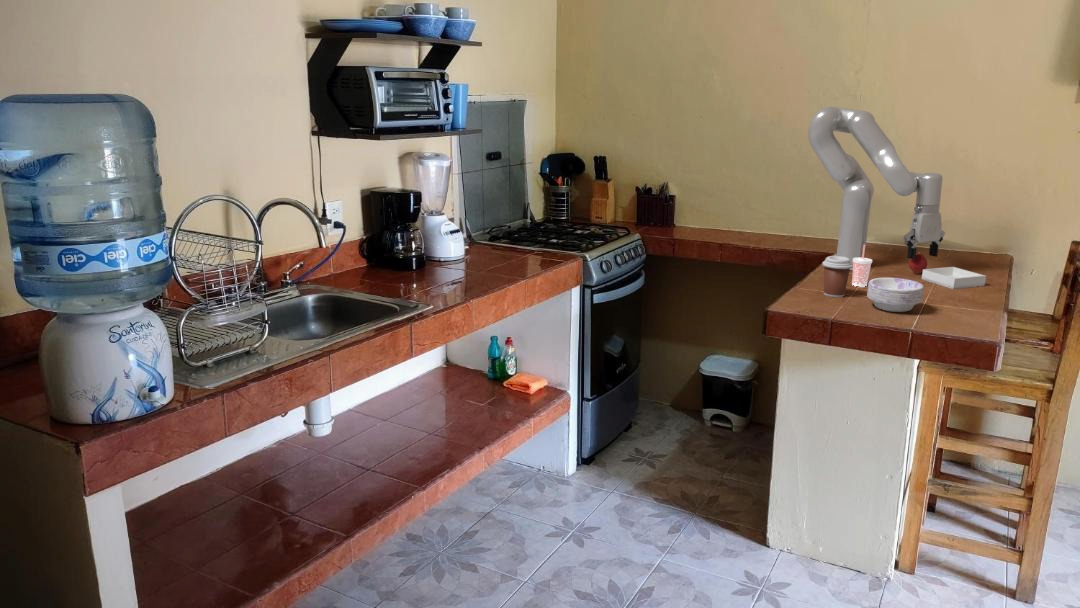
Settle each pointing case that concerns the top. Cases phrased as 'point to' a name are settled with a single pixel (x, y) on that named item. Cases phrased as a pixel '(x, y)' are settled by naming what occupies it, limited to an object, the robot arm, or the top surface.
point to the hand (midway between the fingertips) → (922, 257)
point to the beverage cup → (861, 270)
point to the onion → (918, 263)
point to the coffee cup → (836, 275)
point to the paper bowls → (895, 293)
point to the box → (953, 277)
